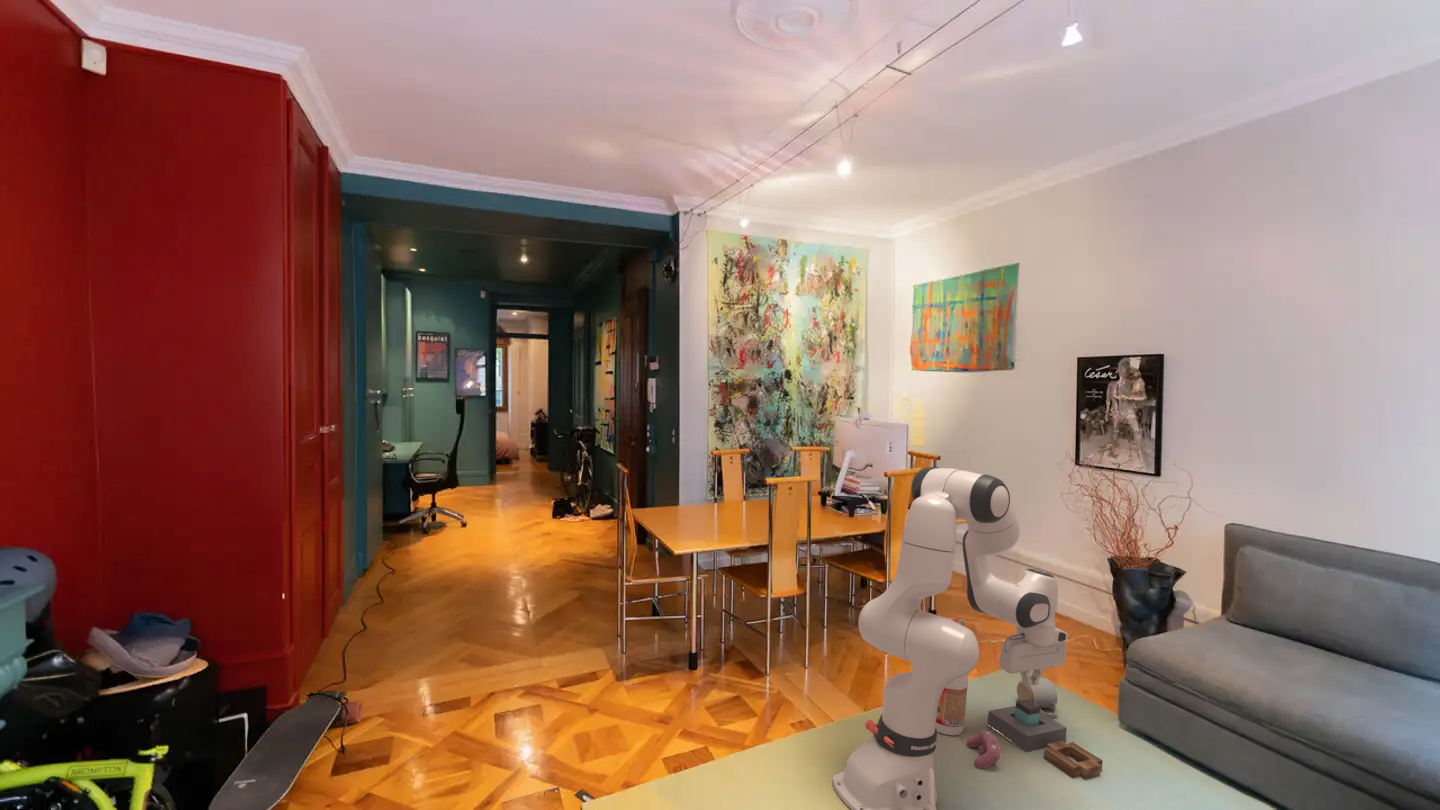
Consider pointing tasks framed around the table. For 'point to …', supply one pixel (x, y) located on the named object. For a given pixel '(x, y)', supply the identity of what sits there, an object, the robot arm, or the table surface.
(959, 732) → the fruit juice
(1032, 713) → the plug
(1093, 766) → the brown wooden square frame
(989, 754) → the video game controller
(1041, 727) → the port
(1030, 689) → the ceramic mug
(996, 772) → the table surface
